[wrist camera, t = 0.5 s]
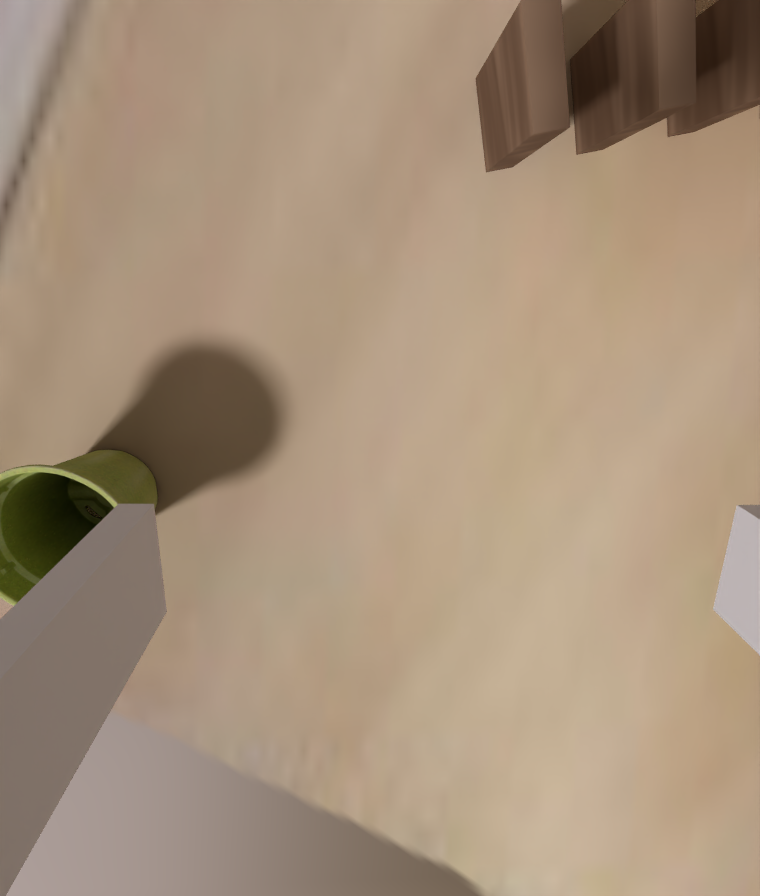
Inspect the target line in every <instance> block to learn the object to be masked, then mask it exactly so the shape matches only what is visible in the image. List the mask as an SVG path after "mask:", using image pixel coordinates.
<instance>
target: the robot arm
mask: <svg viewBox="0 0 760 896" xmlns="http://www.w3.org/2000/svg"><path fill="white" fill-rule="evenodd" d="M713 610H714V611H715V612H716V613H717V614H718V615H719V616H720V617H721V618H722V619H723V620H724V621H726V622H727V623H728V624H729V625H730V626H731V627H732V628H733V629H734V630H735V631H736V632H737V633H738V634H739V635H740V636H741V637H742V638H743V639H744V640H745V641H746V642H747V643H748V644H749V645H750V646H751V647H752V648H753V649H754V650H755V651H756V652H757V653H758V654H759V655H760V505H737V507H736V511H735V516H734V520H733V524H732V529H731V533H730V537H729V542H728V546H727V551H726V555H725V559H724V564H723V568H722V573H721V577H720V581H719V586H718V590H717V595H716V599H715V603H714V608H713ZM166 612H167V610H166V601H165V593H164V584H163V576H162V568H161V559H160V551H159V542H158V534H157V525H156V517H155V508H154V504H118V505H117V506H116V507H115V508H114V509H113V510H112V511H111V512H110V513H109V514H108V515H107V516H106V517H105V518H104V519H103V520H102V521H101V522H100V523H98V524H97V525H96V526H95V527H94V528H93V529H92V530H91V531H90V532H89V533H88V534H87V535H86V536H85V537H84V538H83V539H82V540H81V541H80V542H79V543H78V544H77V545H76V546H75V547H74V548H73V549H72V550H71V551H70V552H69V553H68V554H67V555H66V556H65V557H64V558H63V559H62V560H61V561H60V562H59V563H58V564H57V565H56V566H54V567H53V568H52V569H51V570H50V571H49V572H48V573H47V574H46V575H45V576H44V577H43V578H42V579H41V580H40V581H39V582H38V583H37V584H36V585H35V586H34V587H33V588H32V589H31V590H30V591H29V592H28V593H27V594H26V595H25V596H24V597H23V598H22V599H21V600H20V601H19V602H18V603H17V604H16V605H15V606H14V607H13V608H11V609H10V610H9V611H8V612H7V613H6V614H5V615H4V616H3V617H2V618H1V619H0V896H6V894H7V893H8V891H9V889H10V887H11V885H12V884H13V882H14V880H15V878H16V876H17V875H18V873H19V871H20V869H21V868H22V866H23V864H24V862H25V860H26V859H27V857H28V855H29V854H30V852H31V850H32V848H33V847H34V845H35V843H36V841H37V839H38V838H39V836H40V834H41V832H42V831H43V829H44V827H45V825H46V824H47V822H48V820H49V818H50V816H51V815H52V813H53V811H54V809H55V808H56V806H57V804H58V803H59V801H60V799H61V797H62V795H63V794H64V792H65V790H66V788H67V787H68V785H69V783H70V781H71V780H72V778H73V776H74V774H75V772H76V770H77V769H78V767H79V765H80V764H81V762H82V760H83V758H84V757H85V755H86V753H87V751H88V750H89V748H90V746H91V744H92V743H93V741H94V739H95V737H96V735H97V733H98V732H99V730H100V728H101V727H102V725H103V723H104V721H105V719H106V718H107V716H108V714H109V713H110V711H111V709H112V707H113V705H114V704H115V702H116V700H117V698H118V697H119V695H120V693H121V691H122V690H123V688H124V686H125V684H126V683H127V681H128V679H129V677H130V675H131V674H132V672H133V670H134V668H135V667H136V665H137V663H138V661H139V660H140V658H141V656H142V654H143V653H144V651H145V649H146V647H147V645H148V644H149V642H150V640H151V638H152V637H153V635H154V633H155V631H156V630H157V628H158V626H159V624H160V623H161V621H162V619H163V617H164V615H165V614H166Z"/></svg>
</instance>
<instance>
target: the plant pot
mask: <svg viewBox="0 0 760 896" xmlns="http://www.w3.org/2000/svg"><path fill="white" fill-rule="evenodd" d="M157 501H158V497H157V488H156V481H155V479H154V477H153V475H152V473H151V471H150V470H149V469H148V467H147V466H146V465H145V464H144V463H143V462H142V461H140V460H139V459H137V458H136V457H134V456H132V455H130V454H128V453H126V452H123V451H119V450H97V451H93V452H91V453H88V454H85V455H82V456H79V457H77V458H74V459H71V460H68V461H65V462H62V463H60V464H57V465H54V466H50V465H27V466H21V467H16V468H13V469H9V470H7V471H4V472H2V473H0V598H2V599H3V600H5V601H6V602H8V603H10V604H12V605H13V606H15V605H16V604H17V603H18V602H19V601H20V600H21V599H22V598H23V597H24V596H25V595H26V594H27V593H28V592H29V591H30V590H31V589H32V588H33V587H34V586H35V585H36V584H37V583H38V582H39V581H40V580H41V579H42V578H43V577H44V576H45V575H46V574H47V573H48V572H49V571H50V570H51V569H52V568H53V567H54V566H56V565H57V564H58V563H59V562H60V561H61V560H62V559H63V558H64V557H65V556H66V555H67V554H68V553H69V552H70V551H71V550H72V549H73V548H74V547H75V546H76V545H77V544H78V543H79V542H80V541H81V540H82V539H83V538H84V537H85V536H86V535H87V534H88V533H89V532H90V531H91V530H92V529H93V528H94V527H95V526H96V525H97V524H98V523H100V522H101V521H102V520H103V519H104V518H105V517H106V516H107V515H108V514H109V513H110V512H111V511H112V510H113V509H114V508H115V507H116V506H117V505H118V504H154V508H156V505H157ZM85 506H89V507H90V508H91V509H92V510H93V511H94V512H96V513H97V514H98V515H99V516H101V517H102V519H101V518H97V517H95V516H93V515H91V514H90V513H89V512H88V511H87V510H86V508H85Z"/></svg>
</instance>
